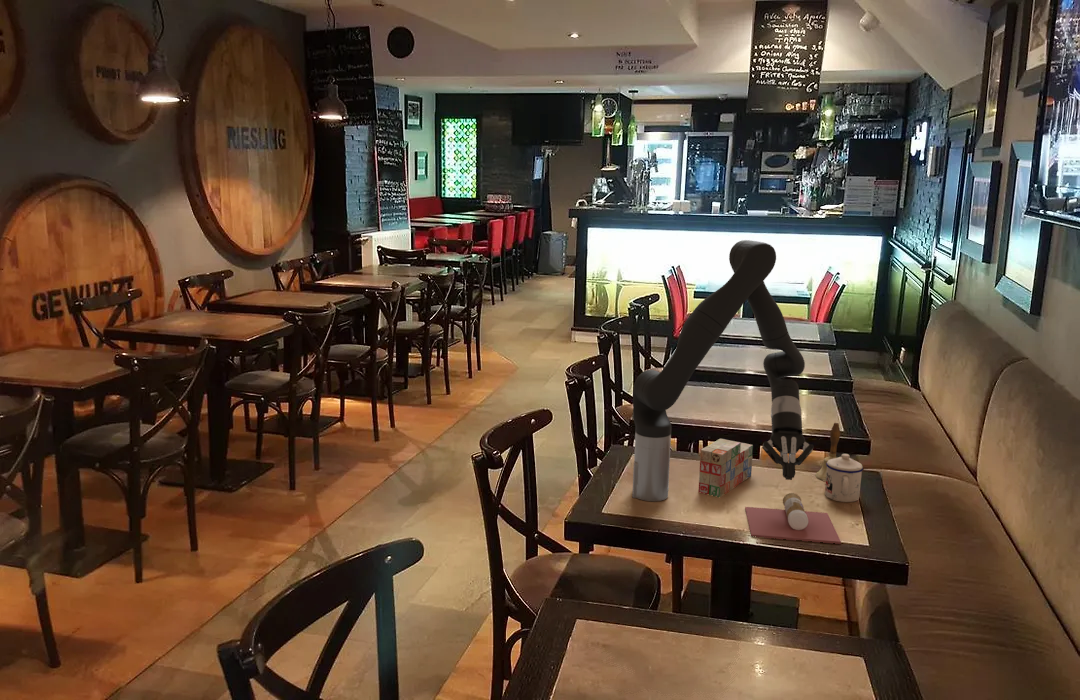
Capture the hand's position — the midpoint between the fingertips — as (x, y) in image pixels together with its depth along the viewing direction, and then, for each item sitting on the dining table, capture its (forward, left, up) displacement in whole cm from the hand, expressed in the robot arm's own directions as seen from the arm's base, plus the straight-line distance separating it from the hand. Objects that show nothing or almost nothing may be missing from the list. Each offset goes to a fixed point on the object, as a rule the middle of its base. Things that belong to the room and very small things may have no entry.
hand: (789, 478), depth 199 cm
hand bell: (+16, +30, -10) cm, 35 cm away
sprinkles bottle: (+1, +3, -7) cm, 7 cm away
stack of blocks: (-14, +19, -10) cm, 25 cm away
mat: (0, -7, -9) cm, 12 cm away
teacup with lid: (+16, +14, -10) cm, 23 cm away
